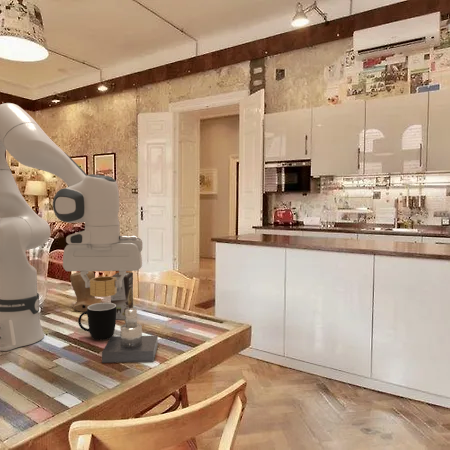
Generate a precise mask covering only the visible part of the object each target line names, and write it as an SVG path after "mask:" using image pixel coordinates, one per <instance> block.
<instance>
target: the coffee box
mask: <svg viewBox="0 0 450 450" xmlns="http://www.w3.org/2000/svg"><path fill="white" fill-rule="evenodd" d="M111 277H115V278H117V280H119V278H120V277H121V275H119V272H117V273H114V274H113V275H112V276H111ZM110 303H113V304H115V305H116V320H120V321H121V320H124V321H125V310H126V309H128V308H134V272H133V271H126V274H125V276H124V278H123V279H122V287H117V293H116V294H115V295H111V296H110Z"/></svg>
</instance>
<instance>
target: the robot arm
mask: <svg viewBox="0 0 450 450" xmlns="http://www.w3.org/2000/svg"><path fill="white" fill-rule="evenodd" d="M6 151H7V152H8V153H9V155H10V156H12V157H13V159H14V160H16V161H17V162H19V163H20V164H21V165H23V166H26V167H28V168H33V169H36V170H40V171H43V172H47V173H49V174H52V175H54V176H56V177H58V178H59V179H61V180H62V181H63V182H64V183H65V184H66V185H67V187H64V188H61V189H58V191H57V192H56V193H55V195H54V196H53V199H52V209H53V212H54V215H55V217H56V218H57V219H58V220H59V221H60V222H63V223H68V224H74V223H84V230H80V231H77V232H75V233H72V234H68V235H67V236H66V238H65V242H66V243H67V244H66V246H65V247H64V249H63V254H62V255H63V256H62V267H63V269H64V270H65V272H81V277H82V278H83V280H84V281H85V288H90V280H89V278H88V277H87V275H86V274H88V271H93V272H118V273H119V275H121V277H120V278H119V280H116V281H115V284H116V285H115V287H122V279H123V278H124V276H125V274H126V272H138V271H139V270H141V268H143V267H142V266H143V262H142V261H143V259H142V250H143V240H142V239H141V238H140V237H137V236H136V235H131V236H130V235H129V236H128V235H121V231H120V230H121V227H120V225H121V223H120V220H119V212H120V192H119V187H118V186H119V185H118V183H117V181H116V179H114V178H113V177H111V176H108V175H101V174H95V173H90V174H87V173H86V171H84V170H83V169H82V168H81V167H80V166H79V165H78V163H76V162H75V160H74V159H73V158H72V157H70V156H69V155H68V154H67V153H66V152H65V151H64V150H63V149H62V148H61V147H59V145H57V144H56V143H55V142H54V141H53V140H52V139H51V138H50V137H49V135H47V133H46V132H45V131H44V130H43V129H42V128H41V126H40V125H39V123H37V122H36V120H35V119H34V118H33V117H32V116H31V115H30V114H29V113H28V112H27V111H26V110H24V109H23V108H22V107H21V106H19V105H18V104H15V103H11V102H6V103H5V102H4V103H2V104H0V352H1V351H2V352H3V351H4V352H6V351H7V352H8V351H11V350H14V349H16V348H21V347H25V346H28V345H29V346H30V345H32V344H35V343H37V342H39V341H41V340H43V339H44V337H45V333H44V331H43V327H42V323H41V318H40V313H39V312H40V306H41V303H40V302H41V301H40V294H39V292H38V273H37V269H36V267H35V266H33V265H32V264H31V263H30V261H29V259H28V257H27V254H26V251H28V250H34V249H36V248H39V247H40V246H42V245H44V244H46V243H47V242H48V241H49V239H50V236H51V227H50V224H49V223H48V221H47V220H46V219H44V218H43V217H41V216H39V215H38V214H37V213H36V212H35V210H34V209H33V208H32V207H31V206H30V204H29V203H28V202H27V201H26V199H25V198H24V196H23V195H22V192H21V191H20V189H19V186H18V184H17V182H16V180H15V177H14V175H13V173H12V170H11V168H10V166H9V164H8V162H7V159H6Z"/></svg>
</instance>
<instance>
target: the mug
mask: <svg viewBox="0 0 450 450" xmlns="http://www.w3.org/2000/svg"><path fill="white" fill-rule="evenodd" d="M85 315H86V316H87V323H88V328H86V327H85V326H83V324H82V322H81V320H82V317H83V316H85ZM77 320H78V321H77V322H78V323H77V324H78V326H79V327H80V329H81V330H83V331H85V332H88V333H89V334H90V337H91V339H92V340H94V341H105V340H109V339H110V338H111V336H114V333H115V330H116V324H117V319H116V305H115V304H113V303H111V302H101V303H97V304H92V305H90V306H88V307H87V311H86V312H81V314H80V315H79V317H78V319H77Z"/></svg>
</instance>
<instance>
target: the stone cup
mask: <svg viewBox="0 0 450 450" xmlns="http://www.w3.org/2000/svg"><path fill="white" fill-rule="evenodd" d="M86 275H87V277H88V278H89V280H91V279H92V278H96V275H95V271H88V274H86ZM70 284H71V287H72V289H73V292H74V294H75V297H76V301H75V303H74V304H73V307H72V309H73V310H76V311H78V312H81V313H84V312H86V311H87V307H88V306H90V305H92V304H97V303H102V302H103V300H102V298H99V297H95V296H92V295H90V288H85V281H84V280H83V278H82V277H81V272H80V271H77V272H73V273H71V274H70Z"/></svg>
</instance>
